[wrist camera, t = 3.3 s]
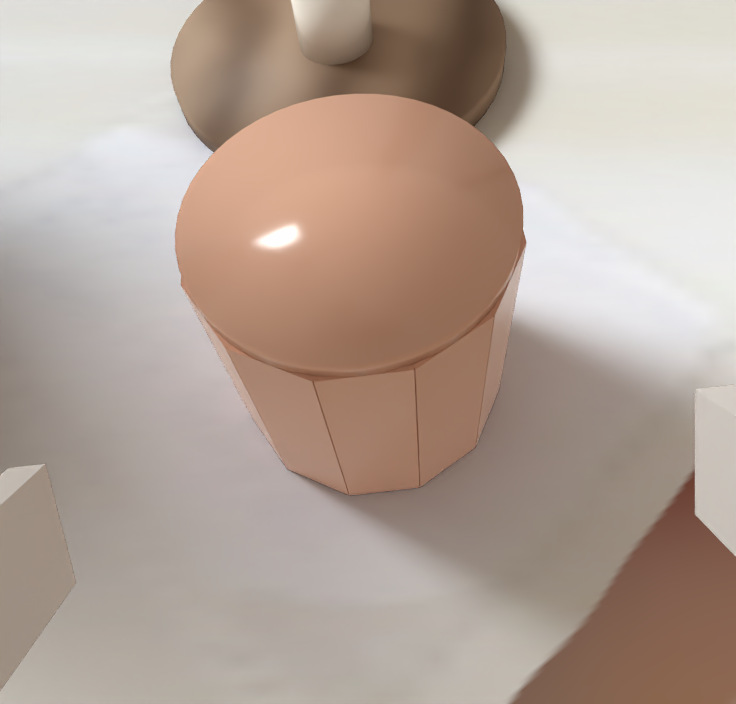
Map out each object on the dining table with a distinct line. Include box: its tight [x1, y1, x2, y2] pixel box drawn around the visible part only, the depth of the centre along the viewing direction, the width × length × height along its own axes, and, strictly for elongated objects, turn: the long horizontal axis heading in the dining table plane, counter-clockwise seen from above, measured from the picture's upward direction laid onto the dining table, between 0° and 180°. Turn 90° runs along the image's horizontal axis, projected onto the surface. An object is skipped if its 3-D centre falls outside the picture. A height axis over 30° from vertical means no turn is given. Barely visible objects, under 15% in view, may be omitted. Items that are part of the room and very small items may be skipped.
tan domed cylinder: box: [175, 94, 526, 495], centre depth 27 cm, size 11×11×11 cm
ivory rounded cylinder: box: [291, 0, 373, 65], centre depth 39 cm, size 4×4×4 cm
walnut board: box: [171, 0, 506, 152], centre depth 42 cm, size 20×20×2 cm
